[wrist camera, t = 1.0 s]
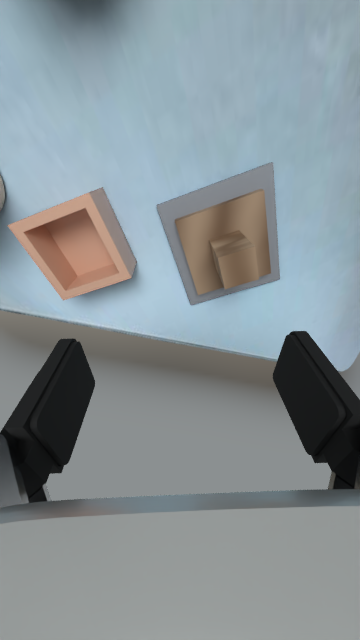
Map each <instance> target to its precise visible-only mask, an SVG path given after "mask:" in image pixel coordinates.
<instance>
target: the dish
mask: <svg viewBox="0 0 360 640" xmlns="http://www.w3.org/2000/svg"><path fill="white" fill-rule="evenodd" d="M7 226H8V227H9V228H10V230H11V231H12V232H13V234H14V235H15V236H16V238H17V239H18V240H19V242H20V243H21V244H22V246H23V247H24V248H25V250H26V251H27V252H28V254H29V255H30V256H31V258H32V259H33V261H34V262H35V263H36V265H37V266H38V267H39V269H40V270H41V271H42V273H43V274H44V275H45V277H46V278H47V279H48V281H49V282H50V283H51V285H52V286H53V287H54V289H55V290H56V291H57V293H58V294H59V295H60V297H61V298H62V299H63V300H66V299H69V298H72V297H75V296H78V295H81V294H84V293H87V292H91V291H94V290H97V289H100V288H103V287H106V286H109V285H112V284H115V283H118V282H121V281H124V280H127V279H131V278H132V275H133V272H134V269H135V266H136V263H137V261H136V259H135V257H134V255H133V253H132V250H131V248H130V246H129V244H128V242H127V239H126V237H125V235H124V233H123V231H122V229H121V226H120V224H119V222H118V220H117V218H116V215H115V213H114V211H113V209H112V207H111V204H110V202H109V200H108V198H107V196H106V194H105V191H104V189H103V187H102V188H99V189H97V190H94V191H92V192H89V193H87V194H84V195H82V196H79V197H77V198H74V199H72V200H69V201H67V202H64V203H62V204H59V205H57V206H54V207H52V208H49V209H47V210H44V211H42V212H39V213H37V214H34V215H32V216H29V217H27V218H25V219H22V220H20V221H17V222H15V223H12V224H10V225H7Z"/></svg>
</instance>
